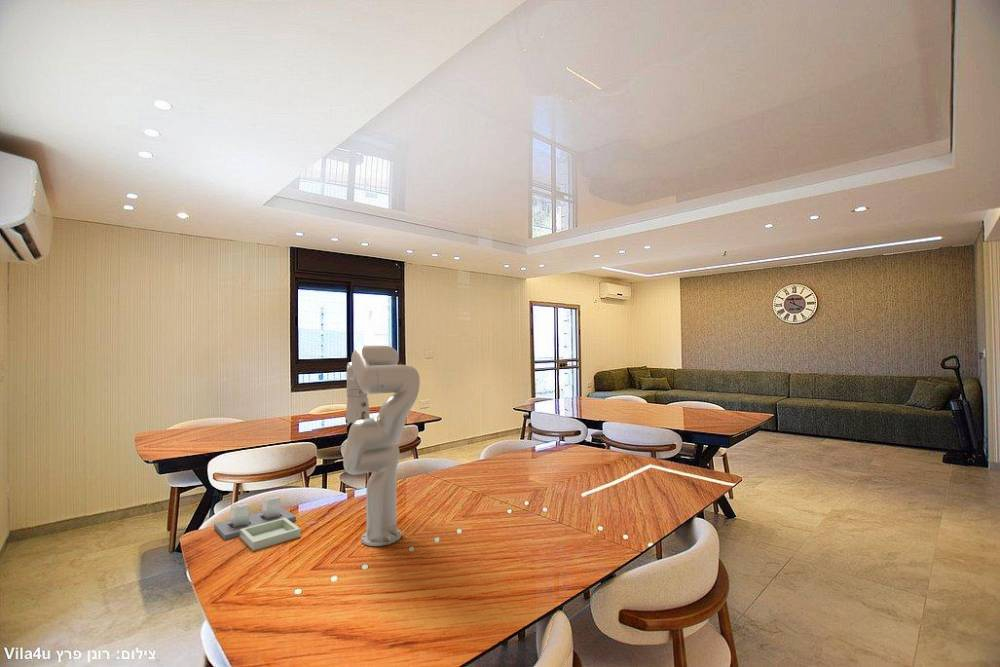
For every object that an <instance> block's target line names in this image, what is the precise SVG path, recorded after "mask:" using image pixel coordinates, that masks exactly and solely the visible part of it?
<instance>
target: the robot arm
mask: <svg viewBox="0 0 1000 667" xmlns="http://www.w3.org/2000/svg"><path fill="white" fill-rule="evenodd" d="M350 358H351V359H350V360H351V361H350V362H347V365H346V398H347V400H346V411H345V412H346V413H345V414H344V419H345V427H346V437H347V440H346V443H345V448H344V453H343V461H342V463H343V468H344V471H345V472H346V473H348V474H349V475H361V474H367V473H371V475H370V476H369V479H367V483H366V491H365V492H366V498H365V499H366V503H365V504H366V508H365V509H366V515H365V516H366V517H365V518H366V520H365V521H366V522H365V524H366V528H365V530H366V531H365V532H364V533H363V534H362V535H361V542H362V544H364V545H366V546H370V547H384V546H388V545H391V544H393V543H396V542H398V541H400V539H401V537H402V531H401V530H400V529H399V528H398V525H397V475H398V474H397V473H398V465H399V460H400V447H399V445H398V442H399V441H400V439H401V438H402V433H403V430H404V428H405V425H406V421H407V417H408V414H409V413H410V411H411V409H412V407H413V406H414V404H415V402H416V400H417V398H418V395H419V391H420V384H421V383H420V382H421V381H420V380H421V379H420V374H419V372H418V370H417V369H416V368H415V367H413V366H412V365H407V364H398V363H399V360H400V356H399V353H398V351H397V349H395V348H394V347H392V346H389V345H359V346H357V347H356V348H355V349H354V350H353V352H352V354H351V356H350ZM391 393H392V395H391V396H389V397H387V399H386V400H385V401H384V402H383V403H382V405H381V407H380V409H379V411H378V415H377V416H376V417H372V418H371V417H370V405H369V399H368V394H369V395H376V394H378V395H379V394H391Z"/></svg>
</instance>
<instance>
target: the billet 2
mask: <svg viewBox="0 0 1000 667" xmlns="http://www.w3.org/2000/svg"><path fill="white" fill-rule="evenodd" d="M280 507H281V497H279V496H278V495H277V494H275V495H270V496H266V497H262V512H263V517H262V519H263V520H269V519H273V518H277V517H280Z"/></svg>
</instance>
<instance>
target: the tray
mask: <svg viewBox="0 0 1000 667" xmlns="http://www.w3.org/2000/svg"><path fill="white" fill-rule="evenodd" d="M301 530H302V529H301V527H299V526H298V525H296V524H295V523H293V522H291V521H289V520H288V519H287V518H281V519H277V520H274V521H270V522H266V523H262V524H258V525H255V526H251V527H247V528H243V529H240V536H239V538H240V539H241V540H242V541H243V543H244V544H245V545H246V546H248V548H249V549H250V550H251V551H252V552H254V551H257V550H260V549H264V548H266V547H271V546H274V545H277V544H281V543H283V542H287V541H292V540H294V539H298V538H301Z"/></svg>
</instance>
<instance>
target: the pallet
mask: <svg viewBox="0 0 1000 667" xmlns="http://www.w3.org/2000/svg"><path fill="white" fill-rule="evenodd" d="M262 517H263V511H260V512H256V513H251V514H249V525H246V526H242V527H238V528H235V529H231V519H228V520H223V521H219V522H215V523H213V531H216V532H217V533H218V534H219V535H220V537H221V538H222V539H223V540H224V541H227V540H231V539H235V538H240V529H243V528H247V527H251V526H255V525H258V524H262V523H266V522H270V521H274V520H277V519H281V518H287V519H288V520H289V521H291V522H292V523H293V522H296V521H297V517H296V515H294V514H293V513H291V511H288V510H287V509H286V508H285V507H283V506H280V517H277V518H273V519H269V520H263V519H262Z"/></svg>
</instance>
